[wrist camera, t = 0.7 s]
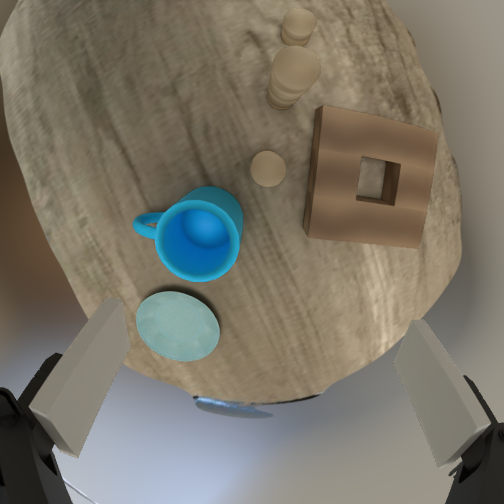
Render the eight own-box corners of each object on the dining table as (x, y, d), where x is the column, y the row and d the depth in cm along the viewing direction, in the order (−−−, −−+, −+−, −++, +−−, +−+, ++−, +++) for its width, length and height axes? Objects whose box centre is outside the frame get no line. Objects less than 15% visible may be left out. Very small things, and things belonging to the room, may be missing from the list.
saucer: (234, 304, 39) (232, 313, 37) (205, 362, 43) (203, 372, 41) (152, 270, 38) (146, 277, 36) (134, 333, 42) (129, 342, 40)
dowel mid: (252, 148, 32) (252, 150, 25) (281, 151, 32) (287, 153, 25) (250, 176, 33) (249, 185, 27) (278, 179, 33) (284, 188, 27)
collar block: (315, 109, 30) (323, 105, 26) (421, 132, 30) (438, 133, 26) (302, 227, 35) (307, 237, 31) (404, 238, 35) (418, 248, 31)
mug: (247, 190, 34) (245, 205, 26) (239, 256, 37) (234, 287, 29) (148, 179, 33) (119, 191, 26) (145, 243, 36) (120, 270, 29)
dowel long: (267, 81, 29) (274, 43, 16) (296, 85, 29) (322, 49, 16) (265, 108, 30) (271, 85, 17) (294, 111, 30) (319, 91, 17)
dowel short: (281, 23, 26) (285, 6, 22) (309, 26, 26) (316, 10, 22) (279, 45, 27) (283, 31, 23) (307, 49, 27) (315, 35, 23)
